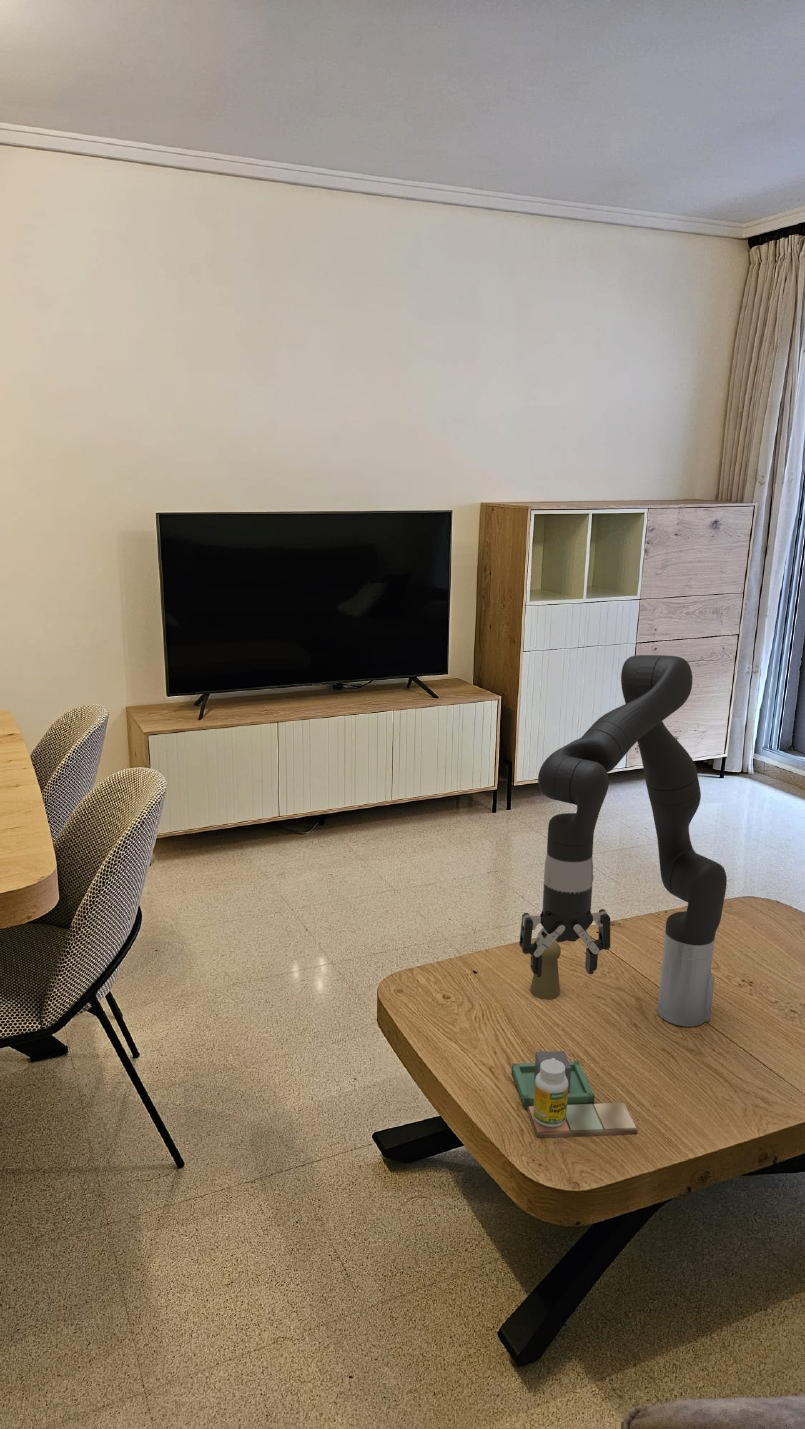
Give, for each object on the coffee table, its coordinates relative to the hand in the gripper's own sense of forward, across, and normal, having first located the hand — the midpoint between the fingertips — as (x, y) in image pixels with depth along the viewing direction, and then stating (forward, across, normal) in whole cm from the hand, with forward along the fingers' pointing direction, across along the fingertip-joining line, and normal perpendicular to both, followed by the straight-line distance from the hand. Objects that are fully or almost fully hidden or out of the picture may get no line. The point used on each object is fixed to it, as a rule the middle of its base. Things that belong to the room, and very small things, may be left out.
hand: (563, 973), depth 158 cm
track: (+25, -3, +4) cm, 25 cm away
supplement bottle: (+24, +2, +4) cm, 24 cm away
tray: (+25, 0, -5) cm, 25 cm away
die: (+24, 0, -5) cm, 25 cm away
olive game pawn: (+26, -8, -37) cm, 45 cm away
